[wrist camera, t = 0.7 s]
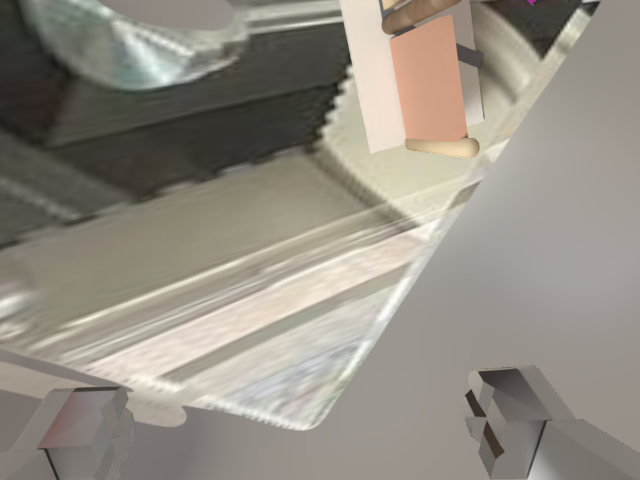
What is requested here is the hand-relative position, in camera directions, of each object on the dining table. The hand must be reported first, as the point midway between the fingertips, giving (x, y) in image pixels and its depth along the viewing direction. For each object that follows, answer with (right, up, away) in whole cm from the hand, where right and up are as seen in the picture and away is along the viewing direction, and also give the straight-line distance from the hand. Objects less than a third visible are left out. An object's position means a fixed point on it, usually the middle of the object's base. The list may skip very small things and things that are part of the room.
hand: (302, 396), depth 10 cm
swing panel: (+10, +20, +39) cm, 45 cm away
